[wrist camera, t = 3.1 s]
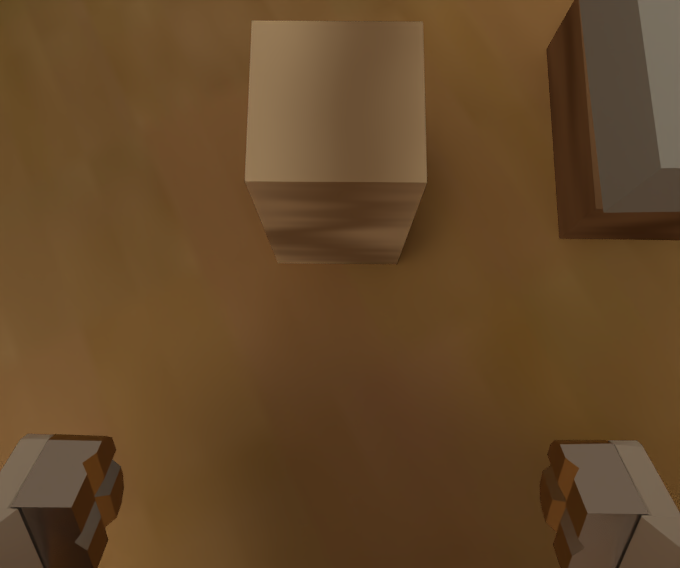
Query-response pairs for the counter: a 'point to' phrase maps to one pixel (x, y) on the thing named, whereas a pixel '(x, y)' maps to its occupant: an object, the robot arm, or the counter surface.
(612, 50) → the slate block
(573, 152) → the walnut block
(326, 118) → the oak pillar
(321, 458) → the counter surface
